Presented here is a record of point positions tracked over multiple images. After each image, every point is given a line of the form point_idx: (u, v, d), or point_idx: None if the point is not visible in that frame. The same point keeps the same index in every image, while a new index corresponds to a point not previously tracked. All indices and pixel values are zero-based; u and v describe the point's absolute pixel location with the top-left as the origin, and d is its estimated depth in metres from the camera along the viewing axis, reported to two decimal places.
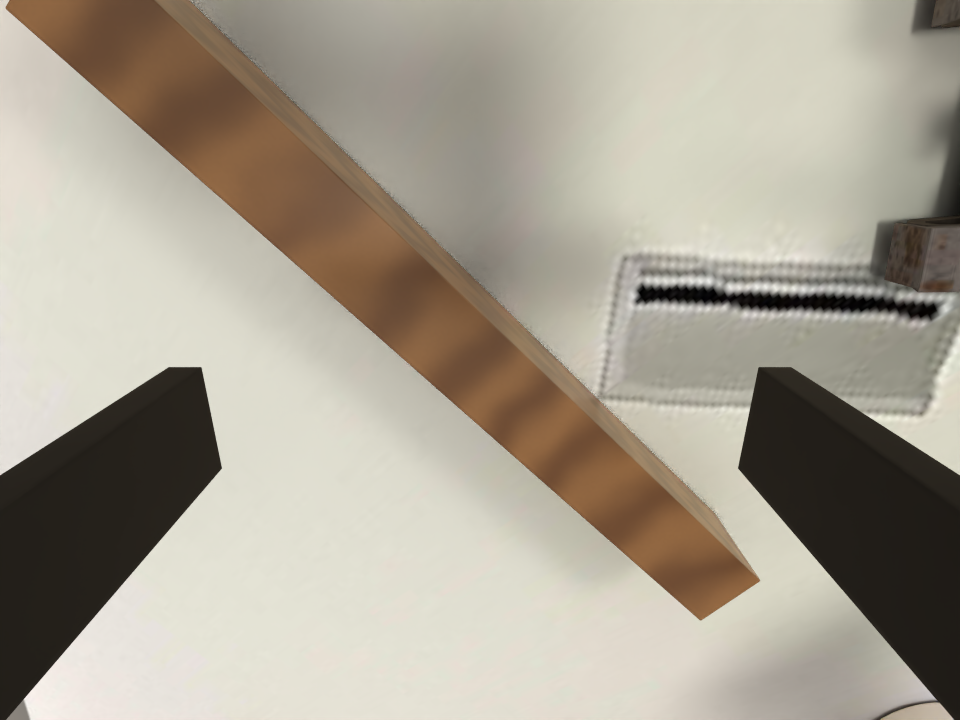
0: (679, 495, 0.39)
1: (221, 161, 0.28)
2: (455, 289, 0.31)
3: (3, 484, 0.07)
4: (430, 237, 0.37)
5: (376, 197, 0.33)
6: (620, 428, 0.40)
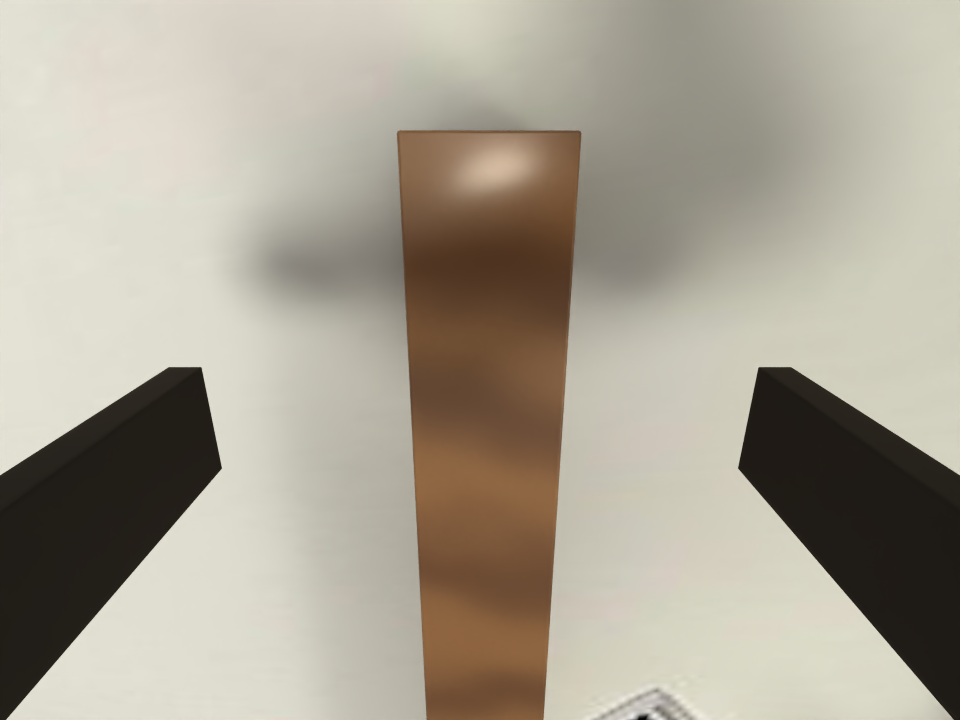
0: None
1: (457, 471, 0.20)
2: None
3: (3, 484, 0.07)
4: None
5: None
6: None
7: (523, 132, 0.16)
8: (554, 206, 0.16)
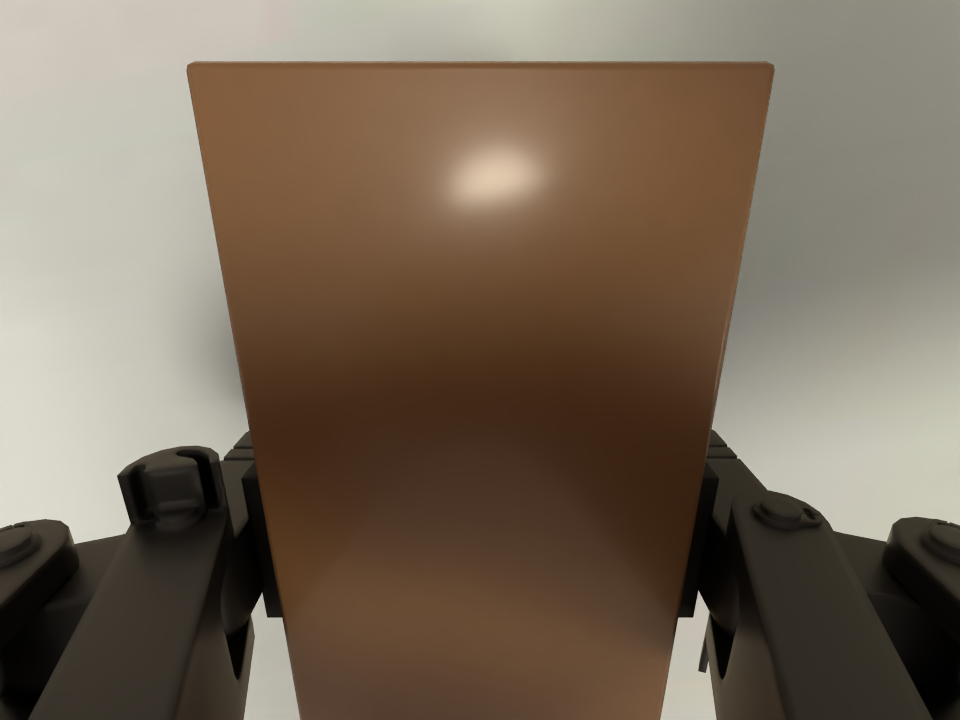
0: None
1: None
2: None
3: None
4: None
5: None
6: None
7: (590, 67, 0.05)
8: (672, 292, 0.06)
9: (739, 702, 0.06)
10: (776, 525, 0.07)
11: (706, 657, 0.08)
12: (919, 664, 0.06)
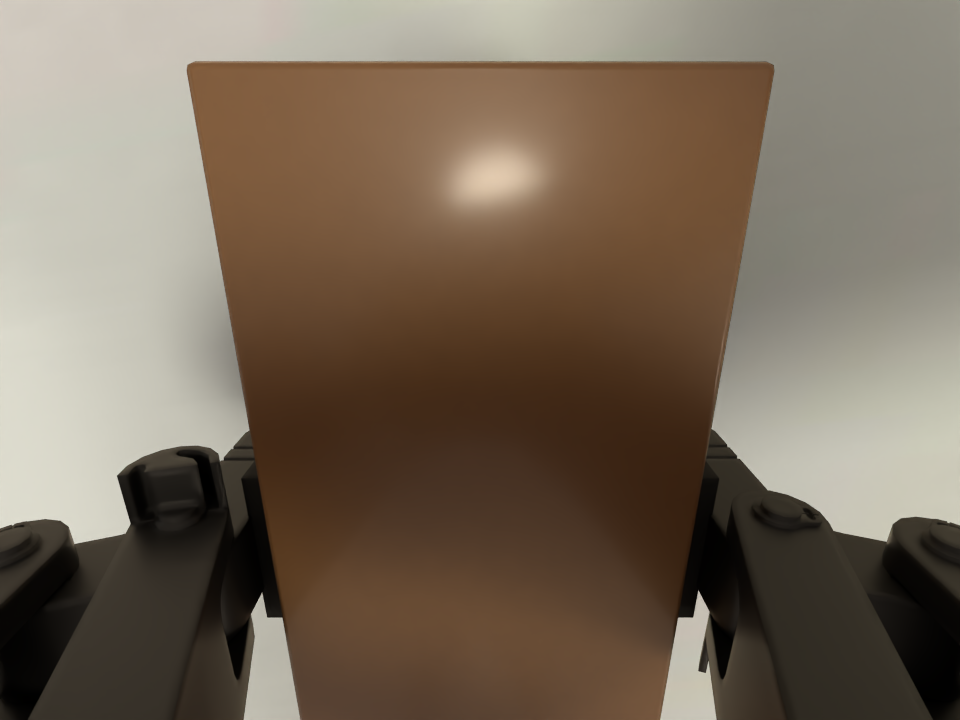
0: None
1: None
2: None
3: None
4: None
5: None
6: None
7: (590, 67, 0.05)
8: (672, 292, 0.06)
9: (739, 702, 0.06)
10: (776, 525, 0.07)
11: (706, 657, 0.08)
12: (919, 664, 0.06)
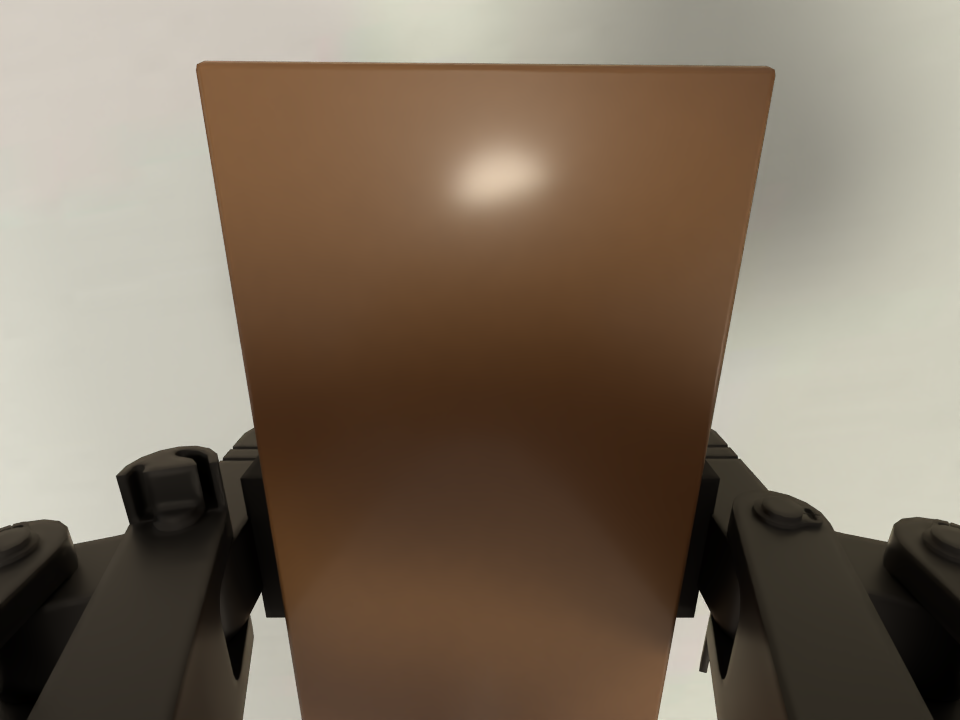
0: None
1: None
2: None
3: None
4: None
5: None
6: None
7: (595, 70, 0.05)
8: (673, 292, 0.06)
9: (740, 702, 0.06)
10: (778, 524, 0.07)
11: (707, 657, 0.08)
12: (920, 664, 0.06)
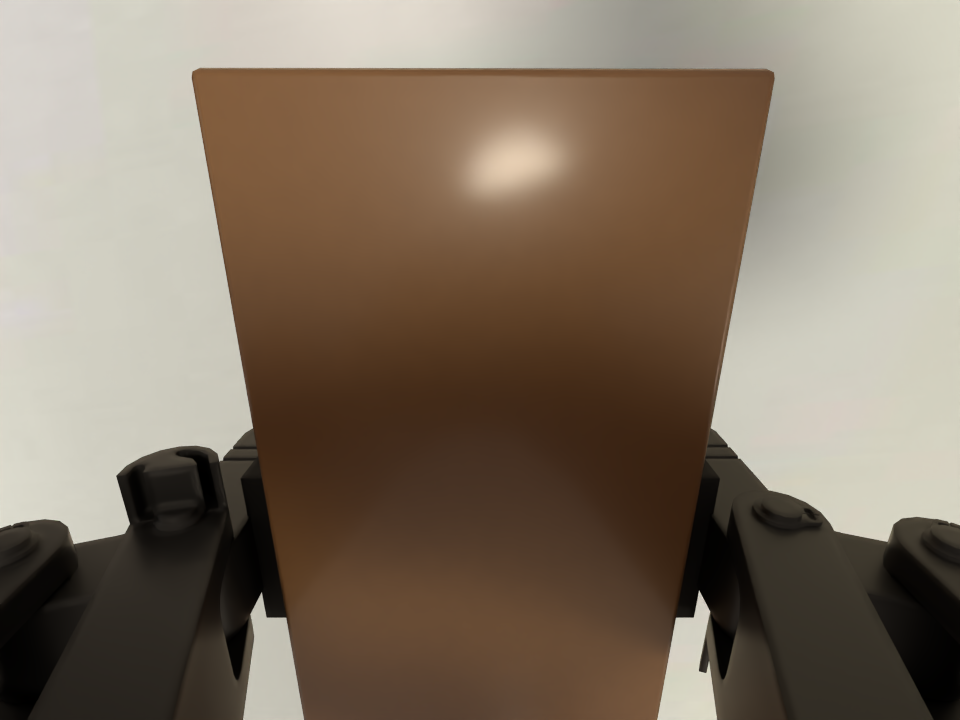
0: None
1: None
2: None
3: None
4: None
5: None
6: None
7: (591, 74, 0.05)
8: (672, 296, 0.06)
9: (740, 702, 0.06)
10: (777, 524, 0.07)
11: (707, 657, 0.08)
12: (920, 664, 0.06)
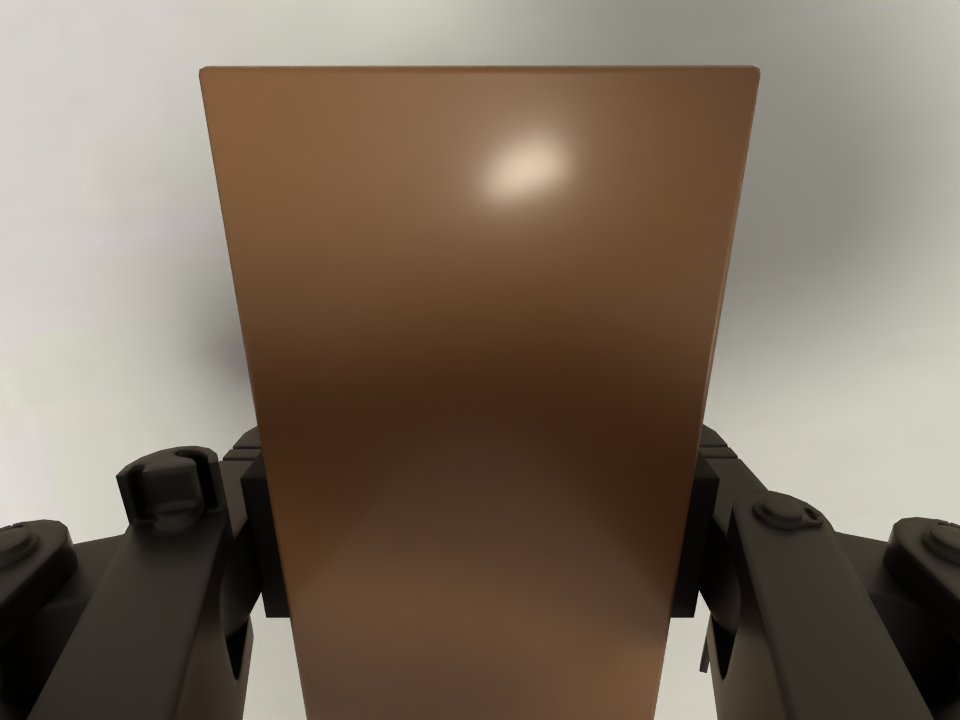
0: None
1: None
2: None
3: None
4: None
5: None
6: None
7: (584, 71, 0.05)
8: (665, 287, 0.06)
9: (740, 702, 0.06)
10: (777, 525, 0.07)
11: (707, 657, 0.08)
12: (920, 664, 0.06)
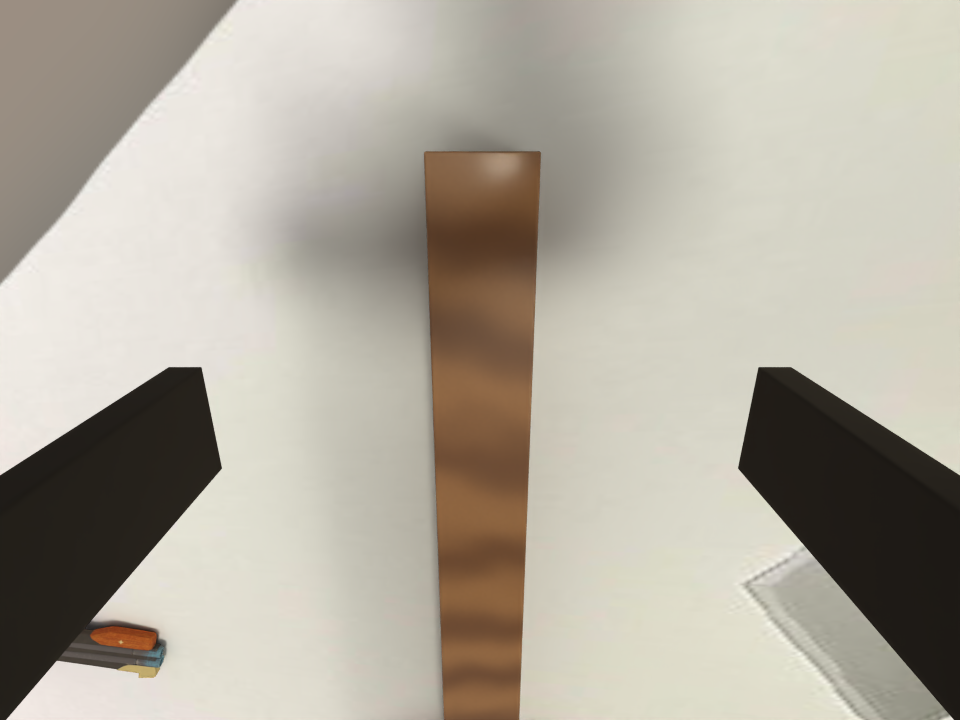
0: None
1: (461, 382, 0.29)
2: None
3: (3, 484, 0.07)
4: None
5: None
6: None
7: (504, 152, 0.25)
8: (524, 199, 0.25)
9: None
10: None
11: None
12: None
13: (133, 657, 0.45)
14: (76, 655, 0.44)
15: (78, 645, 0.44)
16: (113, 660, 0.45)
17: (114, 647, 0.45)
